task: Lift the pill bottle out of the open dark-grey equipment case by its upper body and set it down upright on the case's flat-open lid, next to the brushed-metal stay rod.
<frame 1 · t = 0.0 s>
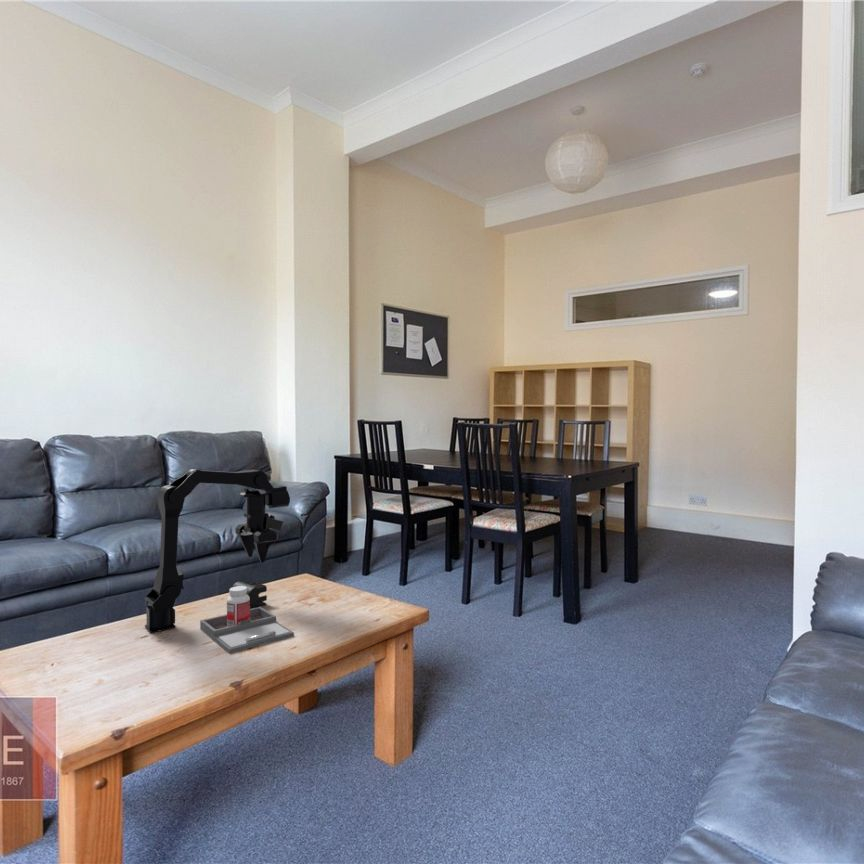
hand: (256, 559, 177), 15 cm above the table, fingers open, 9 cm apart
case lid: (254, 638, 151), on the table
stay rod: (260, 636, 148), on the case lid, point 1 cm above the table
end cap: (248, 605, 179), on the table
case: (238, 627, 160), on the table
pill bottle: (238, 627, 160), resting in case
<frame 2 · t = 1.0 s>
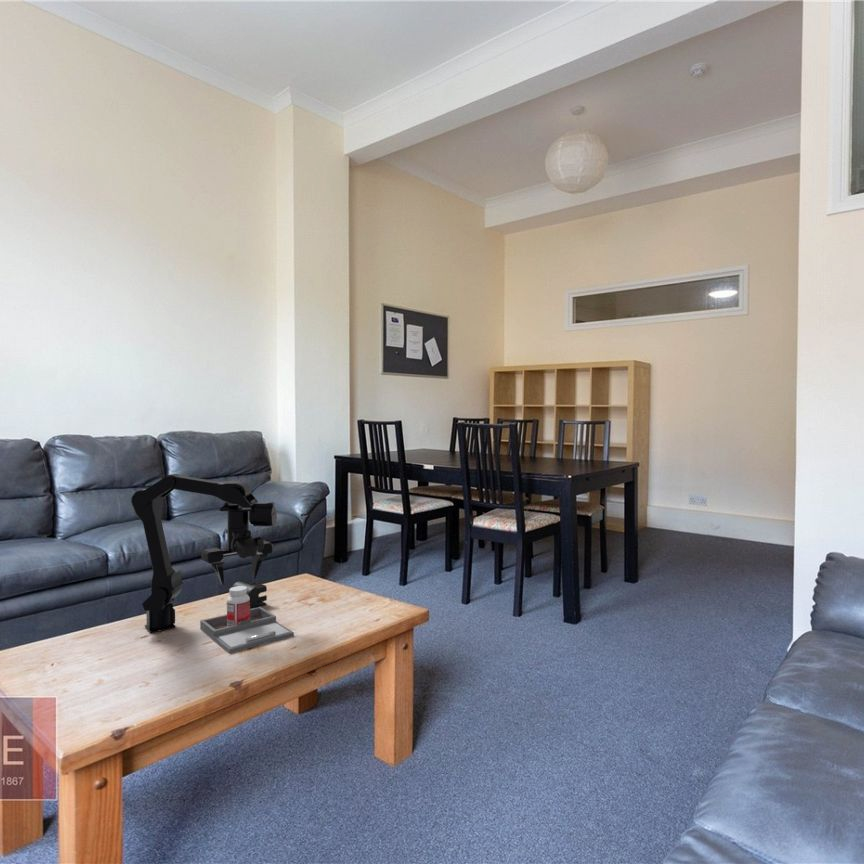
hand: (238, 581, 160), 13 cm above the table, fingers open, 9 cm apart
nothing on the table moved.
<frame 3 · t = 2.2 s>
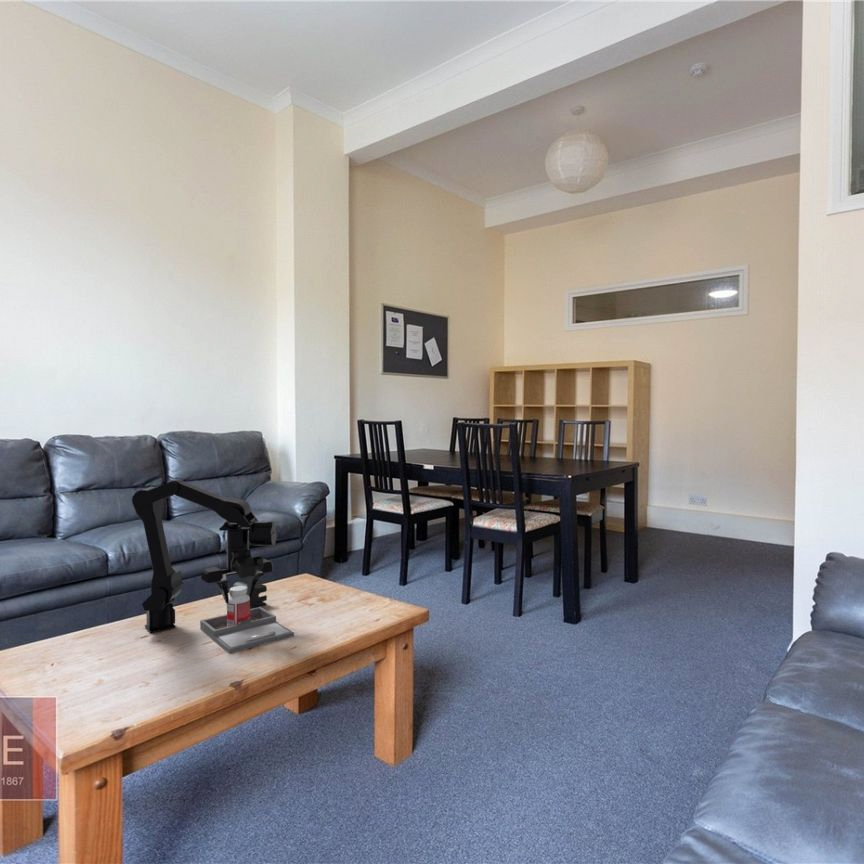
hand: (238, 600, 159), 8 cm above the table, fingers closed on pill bottle, 6 cm apart
pill bottle: (238, 627, 160), resting in case, touching gripper
everything else where it was.
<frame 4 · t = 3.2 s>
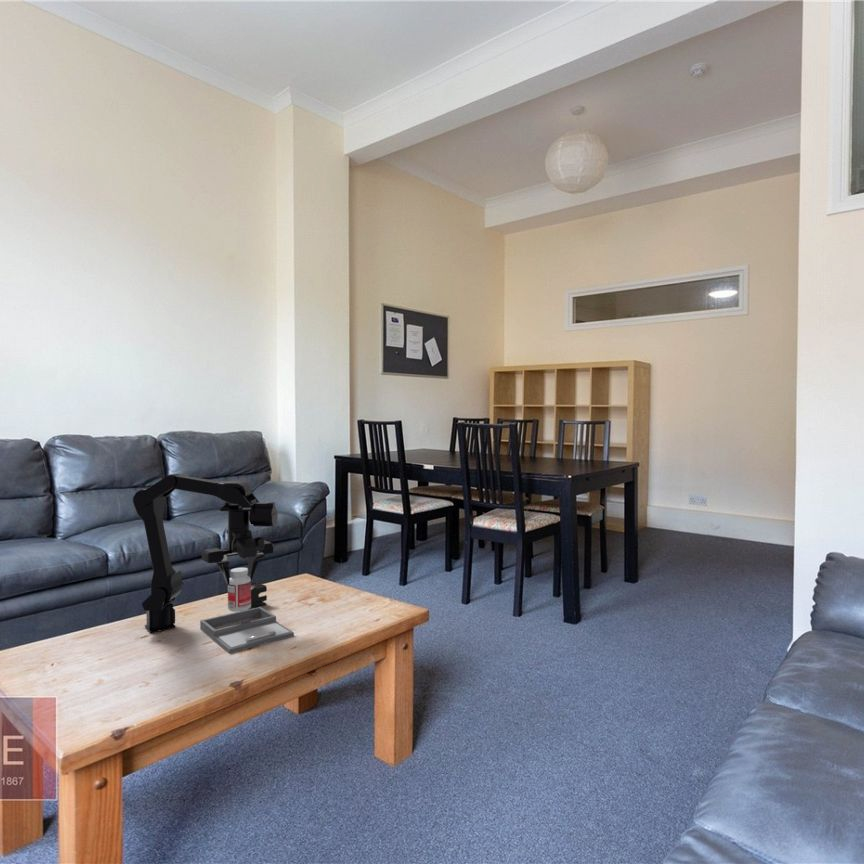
hand: (239, 581, 159), 13 cm above the table, fingers closed on pill bottle, 6 cm apart
pill bottle: (239, 609, 159), point 5 cm above the table, touching gripper
everything else where it was.
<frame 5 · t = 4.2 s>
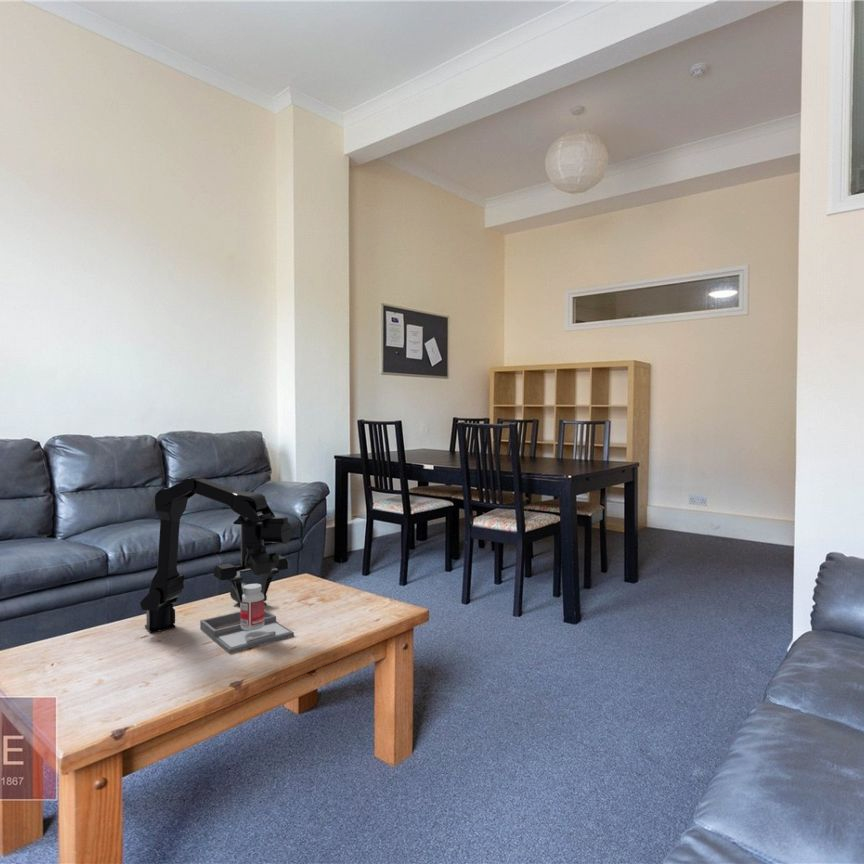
hand: (252, 598, 152), 10 cm above the table, fingers closed on pill bottle, 6 cm apart
pill bottle: (252, 627, 152), point 3 cm above the table, touching gripper
everything else where it was.
when the fingers open (10 cm above the table, at t = 4.7 s): pill bottle drops 1 cm, resting on case lid.
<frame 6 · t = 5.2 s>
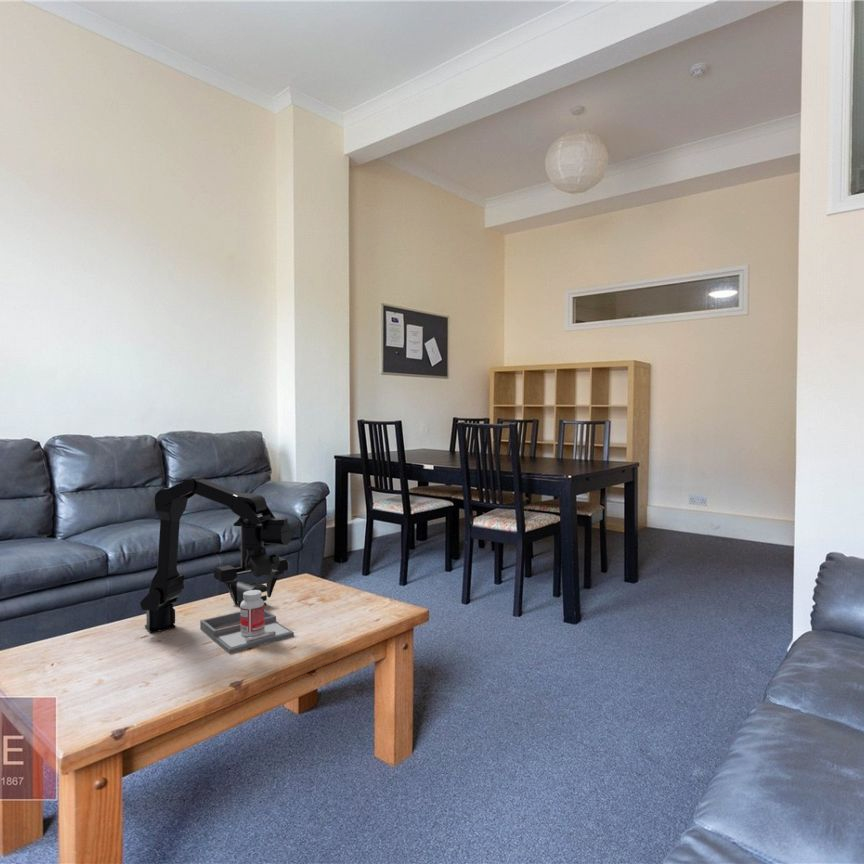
hand: (252, 600, 152), 10 cm above the table, fingers open, 9 cm apart
pill bottle: (252, 633, 152), point 1 cm above the table, touching case lid
everything else where it was.
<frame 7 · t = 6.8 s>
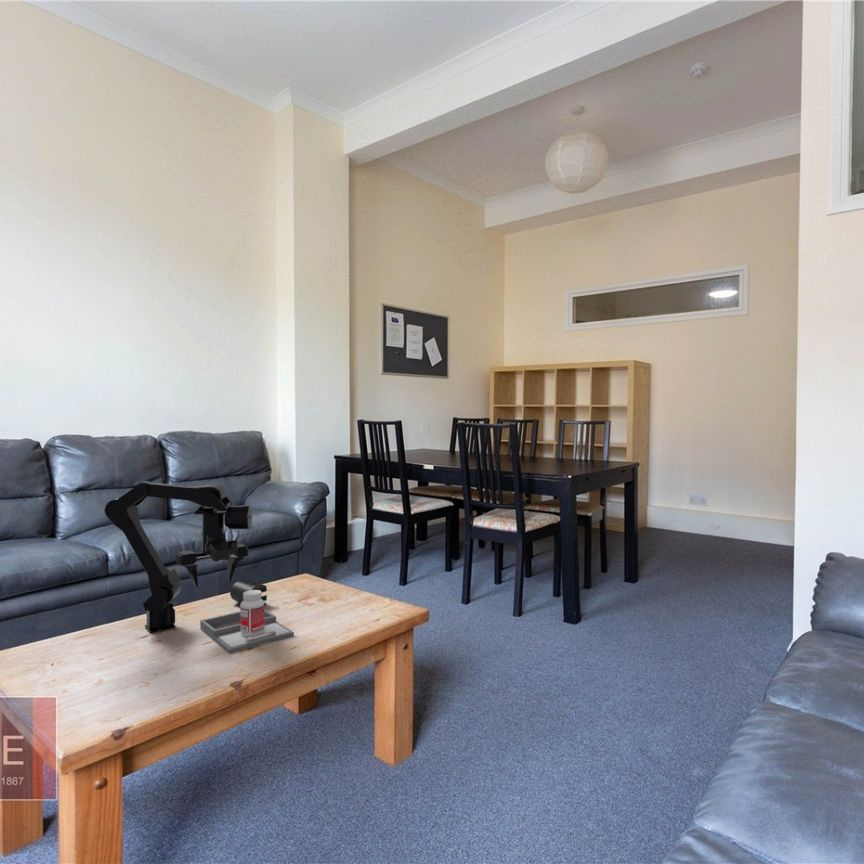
hand: (213, 584, 160), 12 cm above the table, fingers open, 9 cm apart
nothing on the table moved.
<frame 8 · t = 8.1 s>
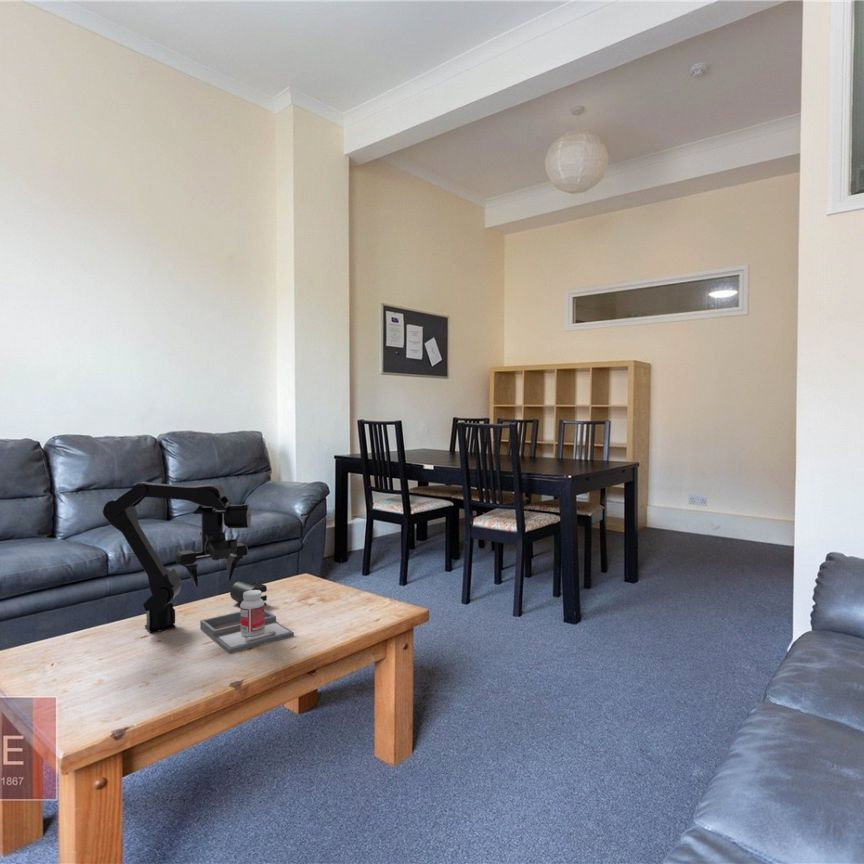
hand: (212, 583, 161), 12 cm above the table, fingers open, 9 cm apart
nothing on the table moved.
at the end: pill bottle inside the target area on the case lid (0.8 cm from its centre), point 0.9 cm above the case lid's base; pill bottle tilted 0°; the gripper is holding nothing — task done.
